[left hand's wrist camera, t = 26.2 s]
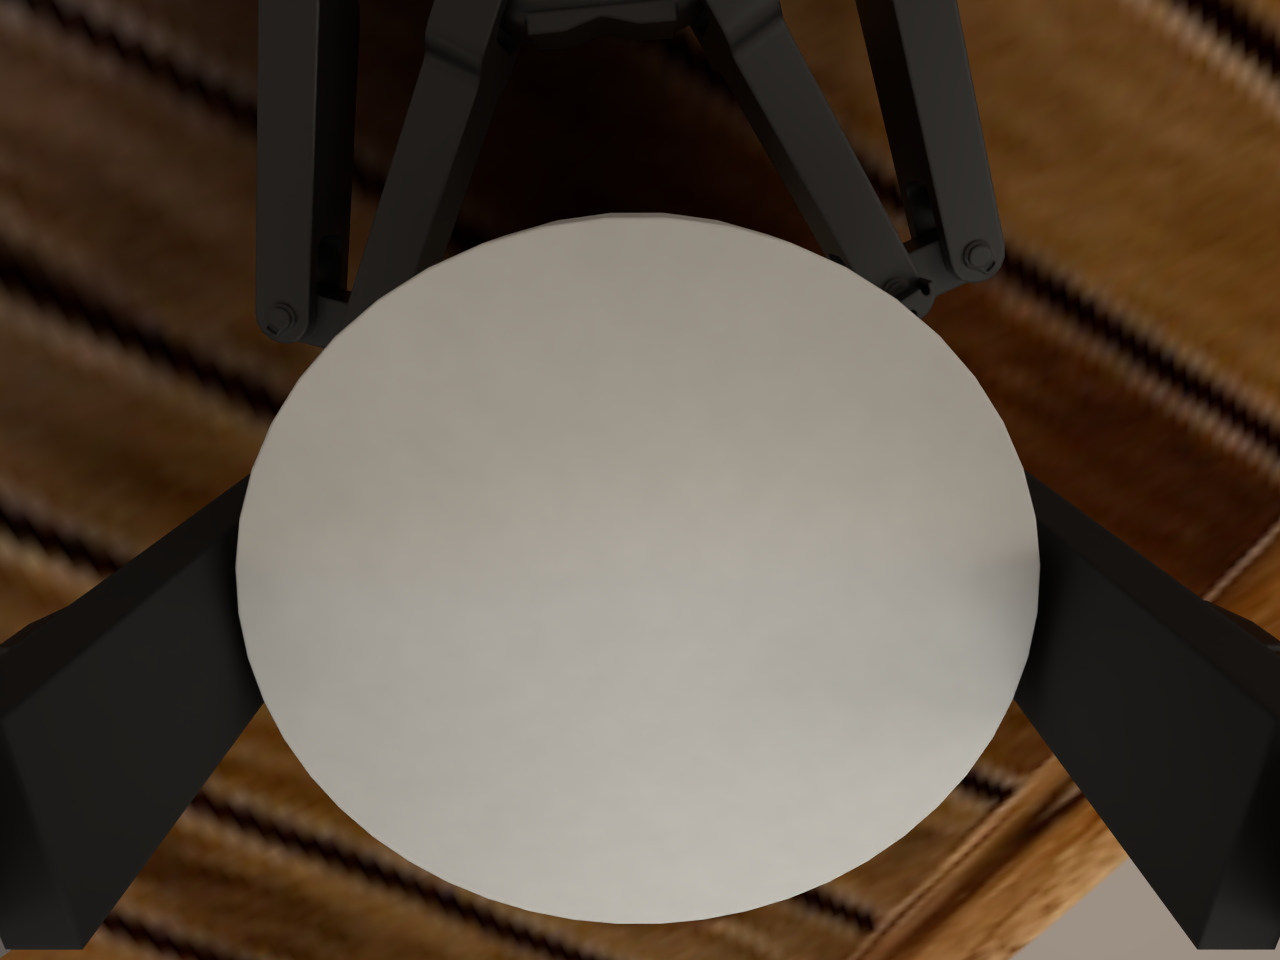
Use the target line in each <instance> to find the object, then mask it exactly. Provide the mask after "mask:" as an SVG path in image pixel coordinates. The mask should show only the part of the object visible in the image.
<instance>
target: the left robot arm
mask: <svg viewBox="0 0 1280 960" xmlns="http://www.w3.org/2000/svg"><path fill="white" fill-rule="evenodd" d="M1024 473H1025V477H1026V481H1027V485H1028V489H1029V493H1030V497H1031V501H1032V505H1033V509H1034V513H1035V517H1036V526H1037V537H1038V547H1039V558H1040V578H1039V595H1038V612H1037V617H1036V622H1035V627H1034V632H1033V636H1032V641H1031V646H1030V651H1029V655H1028V659H1027V662H1026V664H1025V667H1024V670H1023V673H1022V675H1021V678H1020V681H1019V684H1018V686H1017V689H1016V692H1015V695H1014V697H1013V699H1014V700H1015V701H1016V703H1017V704H1018V706H1019V707H1020V708H1021V710H1022V711H1023V712H1024V714H1025V715H1026V716H1027V718H1028V719H1029V721H1030V722H1031V723H1032V725H1033V726H1034V727H1035V729H1036V730H1037V731H1038V733H1039V734H1040V736H1041V737H1042V738H1043V740H1044V741H1045V742H1046V744H1047V745H1048V746H1049V748H1050V749H1051V751H1052V752H1053V753H1054V755H1055V756H1056V757H1057V759H1058V760H1059V761H1060V763H1061V764H1062V766H1063V767H1064V768H1065V770H1066V771H1067V772H1068V774H1069V775H1070V776H1071V778H1072V779H1073V780H1074V782H1075V783H1076V785H1077V786H1078V787H1079V789H1080V790H1081V791H1082V793H1083V794H1084V795H1085V797H1086V798H1087V800H1088V801H1089V802H1090V804H1091V805H1092V806H1093V808H1094V809H1095V810H1096V812H1097V813H1098V815H1099V816H1100V817H1101V819H1102V820H1103V821H1104V823H1105V824H1106V825H1107V827H1108V828H1109V830H1110V831H1111V832H1112V834H1113V835H1114V836H1115V838H1116V839H1117V840H1118V842H1119V843H1120V845H1121V846H1122V847H1123V849H1124V850H1125V851H1126V853H1127V854H1128V855H1129V857H1130V858H1131V860H1132V861H1133V862H1134V864H1135V865H1136V866H1137V868H1138V869H1139V870H1140V872H1141V873H1142V875H1143V876H1144V877H1145V879H1146V880H1147V881H1148V883H1149V884H1150V885H1151V887H1152V888H1153V889H1154V891H1155V892H1156V894H1157V895H1158V896H1159V898H1160V899H1161V900H1162V902H1163V903H1164V904H1165V906H1166V907H1167V909H1168V910H1169V911H1170V913H1171V914H1172V915H1173V917H1174V918H1175V920H1176V921H1177V922H1178V924H1179V925H1180V926H1181V928H1182V929H1183V930H1184V932H1185V933H1186V935H1187V936H1188V937H1189V939H1190V940H1191V941H1192V943H1193V944H1194V945H1195V947H1196V948H1197V949H1275V948H1276V945H1277V943H1278V940H1279V938H1280V641H1279V640H1278V639H1276V638H1275V637H1273V636H1272V635H1271V634H1269V633H1268V632H1266V631H1265V630H1263V629H1262V628H1261V627H1259V626H1258V625H1256V624H1255V623H1254V622H1252V621H1250V620H1248V619H1246V618H1243V617H1241V616H1239V615H1237V614H1235V613H1233V612H1230V611H1228V610H1226V609H1224V608H1222V607H1219V606H1217V605H1215V604H1213V603H1211V602H1209V601H1204V600H1202V599H1201V598H1200V597H1198V596H1197V595H1196V594H1194V593H1193V592H1192V591H1190V590H1189V589H1187V588H1186V587H1185V586H1183V585H1182V584H1181V583H1179V582H1178V581H1176V580H1175V579H1174V578H1172V577H1171V576H1170V575H1168V574H1167V573H1165V572H1164V571H1163V570H1161V569H1160V568H1159V567H1157V566H1156V565H1154V564H1153V563H1152V562H1150V561H1149V560H1148V559H1146V558H1145V557H1143V556H1142V555H1141V554H1139V553H1138V552H1137V551H1135V550H1134V549H1133V548H1131V547H1130V546H1128V545H1127V544H1126V543H1124V542H1123V541H1122V540H1120V539H1119V538H1117V537H1116V536H1115V535H1113V534H1112V533H1111V532H1109V531H1108V530H1106V529H1105V528H1104V527H1102V526H1101V525H1100V524H1098V523H1097V522H1095V521H1094V520H1093V519H1091V518H1090V517H1089V516H1087V515H1086V514H1084V513H1083V512H1082V511H1080V510H1079V509H1078V508H1076V507H1075V506H1074V505H1072V504H1071V503H1069V502H1068V501H1067V500H1065V499H1064V498H1063V497H1061V496H1060V495H1058V494H1057V493H1056V492H1054V491H1053V490H1052V489H1050V488H1049V487H1047V486H1046V485H1045V484H1043V483H1042V482H1041V481H1039V480H1038V479H1036V478H1035V477H1034V476H1032V475H1031V474H1030V473H1028V472H1027V471H1025V470H1024ZM250 475H251V473H250V474H249V475H248V476H246V477H245V478H244V479H242V480H241V481H239V482H238V483H237V484H235V485H234V486H233V487H231V488H230V489H228V490H227V491H226V492H224V493H223V494H222V495H220V496H219V497H217V498H216V499H215V500H213V501H212V502H211V503H209V504H208V505H207V506H205V507H204V508H202V509H201V510H200V511H198V512H197V513H196V514H194V515H193V516H191V517H190V518H189V519H187V520H186V521H185V522H183V523H182V524H180V525H179V526H178V527H176V528H175V529H174V530H172V531H171V532H169V533H168V534H167V535H165V536H164V537H163V538H161V539H160V540H158V541H157V542H156V543H154V544H153V545H152V546H150V547H149V548H148V549H146V550H145V551H143V552H142V553H141V554H139V555H138V556H137V557H135V558H134V559H132V560H131V561H130V562H128V563H127V564H126V565H124V566H123V567H121V568H120V569H119V570H117V571H116V572H115V573H113V574H112V575H110V576H109V577H108V578H106V579H105V580H104V581H102V582H101V583H99V584H98V585H97V586H95V587H94V588H93V589H91V590H90V591H89V592H87V593H86V594H84V595H83V596H82V597H80V598H79V599H78V600H76V601H75V602H73V603H72V604H71V605H69V606H68V607H65V608H63V609H61V610H59V611H57V612H55V613H52V614H50V615H48V616H46V617H44V618H42V619H39V620H37V621H35V622H33V623H31V624H29V625H27V626H26V627H24V628H23V629H22V630H20V631H19V632H17V633H16V634H15V635H13V636H12V637H10V638H9V639H8V640H6V641H5V642H3V643H2V644H1V645H0V958H1V957H2V956H3V955H5V954H6V953H7V952H9V951H10V950H11V949H83V948H84V947H85V945H86V944H87V943H88V941H89V940H90V939H91V937H92V936H93V935H94V933H95V932H96V930H97V929H98V928H99V926H100V925H101V924H102V922H103V921H104V920H105V918H106V917H107V915H108V914H109V913H110V911H111V910H112V909H113V907H114V906H115V905H116V903H117V902H118V900H119V899H120V898H121V896H122V895H123V894H124V892H125V891H126V890H127V888H128V887H129V885H130V884H131V883H132V881H133V880H134V879H135V877H136V876H137V875H138V873H139V872H140V870H141V869H142V868H143V866H144V865H145V864H146V862H147V861H148V860H149V858H150V857H151V855H152V854H153V853H154V851H155V850H156V849H157V847H158V846H159V845H160V843H161V842H162V840H163V839H164V838H165V836H166V835H167V834H168V832H169V831H170V830H171V828H172V827H173V826H174V824H175V823H176V821H177V820H178V819H179V817H180V816H181V815H182V813H183V812H184V811H185V809H186V808H187V806H188V805H189V804H190V802H191V801H192V800H193V798H194V797H195V796H196V794H197V793H198V791H199V790H200V789H201V787H202V786H203V785H204V783H205V782H206V781H207V779H208V778H209V776H210V775H211V774H212V772H213V771H214V770H215V768H216V767H217V766H218V764H219V763H220V761H221V760H222V759H223V757H224V756H225V755H226V753H227V752H228V751H229V749H230V748H231V746H232V745H233V744H234V742H235V741H236V740H237V738H238V737H239V736H240V734H241V733H242V731H243V730H244V729H245V727H246V726H247V725H248V723H249V722H250V721H251V719H252V718H253V716H254V715H255V714H256V712H257V711H258V710H259V708H260V707H261V706H262V704H263V703H264V700H263V698H262V695H261V692H260V689H259V687H258V684H257V681H256V679H255V676H254V673H253V670H252V668H251V665H250V662H249V660H248V656H247V651H246V647H245V642H244V637H243V633H242V628H241V623H240V619H239V614H238V600H237V585H236V569H235V565H236V554H237V543H238V531H239V520H240V515H241V511H242V507H243V503H244V499H245V495H246V491H247V487H248V483H249V479H250Z"/></svg>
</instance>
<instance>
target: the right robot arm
mask: <svg viewBox="0 0 1280 960" xmlns="http://www.w3.org/2000/svg"><path fill="white" fill-rule="evenodd" d="M855 1H856V6H857V10H858V14H859V18H860V22H861V27H862V31H863V35H864V39H865V44H866V48H867V52H868V56H869V61H870V65H871V69H872V73H873V77H874V82H875V86H876V90H877V94H878V99H879V103H880V107H881V111H882V116H883V120H884V124H885V128H886V132H887V137H888V141H889V145H890V149H891V154H892V158H893V162H894V166H895V171H896V175H897V179H898V183H899V187H900V192H901V196H902V200H903V204H904V209H905V213H906V217H907V221H908V226H909V230H910V234H911V238H912V239H911V240H909V241H907V242H905V243H902V241H901V239H900V237H899V236H898V234H897V232H896V230H895V228H894V226H893V224H892V222H891V221H890V219H889V217H888V215H887V213H886V211H885V209H884V207H883V206H882V204H881V202H880V200H879V198H878V196H877V194H876V192H875V191H874V189H873V187H872V185H871V183H870V181H869V179H868V178H867V176H866V174H865V172H864V170H863V168H862V166H861V164H860V163H859V161H858V159H857V157H856V155H855V153H854V151H853V149H852V148H851V146H850V144H849V142H848V140H847V138H846V136H845V134H844V133H843V131H842V129H841V127H840V125H839V123H838V121H837V120H836V118H835V116H834V114H833V112H832V110H831V108H830V106H829V105H828V103H827V101H826V99H825V97H824V95H823V93H822V91H821V90H820V88H819V86H818V84H817V82H816V80H815V78H814V76H813V75H812V73H811V71H810V69H809V67H808V65H807V63H806V61H805V60H804V58H803V56H802V54H801V52H800V50H799V48H798V47H797V45H796V43H795V41H794V39H793V37H792V35H791V33H790V32H789V30H788V28H787V26H786V24H785V22H784V19H783V16H782V11H781V6H780V3H779V0H434V3H433V6H432V9H431V13H430V16H429V19H428V23H427V27H426V31H425V39H424V41H425V55H424V60H423V64H422V67H421V70H420V74H419V77H418V80H417V83H416V86H415V90H414V93H413V96H412V99H411V102H410V106H409V109H408V112H407V115H406V119H405V122H404V125H403V128H402V131H401V135H400V138H399V141H398V144H397V147H396V151H395V154H394V157H393V160H392V164H391V167H390V170H389V173H388V176H387V180H386V183H385V186H384V189H383V192H382V196H381V199H380V202H379V205H378V209H377V212H376V215H375V218H374V221H373V225H372V228H371V231H370V234H369V237H368V241H367V244H366V247H365V250H364V253H363V257H362V260H361V263H360V266H359V270H358V273H357V276H356V279H355V282H354V286H353V289H352V292H351V291H347V272H348V252H349V232H350V212H351V192H352V172H353V152H354V132H355V112H356V92H357V72H358V52H359V2H358V0H258V104H257V216H256V318H257V323H258V325H259V326H260V328H261V330H262V331H263V333H264V334H266V335H267V336H268V337H269V338H270V339H272V340H274V341H277V342H280V343H293V342H295V341H299V342H303V343H306V344H310V345H314V346H318V347H322V348H326V346H327V345H328V344H329V343H330V342H331V341H332V339H333V338H334V337H335V336H336V335H337V334H339V333H340V332H341V331H342V330H343V329H344V328H345V327H347V326H348V325H349V324H350V323H351V322H352V321H354V320H355V319H356V318H357V317H358V316H359V315H360V314H362V313H363V312H364V311H365V310H366V309H367V308H369V307H370V306H371V305H372V304H373V303H374V302H376V301H377V300H378V299H379V298H381V297H383V296H384V295H386V294H387V293H389V292H390V291H392V290H394V289H395V288H397V287H398V286H400V285H401V284H403V283H405V282H406V281H408V280H409V279H411V278H413V277H414V276H416V275H417V274H419V273H420V272H422V271H424V270H425V269H427V268H429V267H431V266H433V265H435V264H437V263H440V262H442V260H443V257H444V255H445V252H446V249H447V246H448V243H449V240H450V237H451V234H452V232H453V229H454V226H455V223H456V220H457V217H458V214H459V211H460V209H461V206H462V203H463V200H464V197H465V194H466V191H467V188H468V185H469V183H470V180H471V177H472V174H473V171H474V168H475V165H476V162H477V160H478V157H479V154H480V151H481V148H482V145H483V142H484V139H485V137H486V134H487V131H488V128H489V125H490V122H491V119H492V116H493V114H494V111H495V108H496V105H497V102H498V99H499V97H500V95H501V93H502V92H503V90H504V89H505V87H506V86H507V84H508V82H509V79H510V77H511V74H512V71H513V69H514V66H515V63H516V60H517V57H518V54H519V51H520V49H521V46H522V43H523V42H524V43H527V44H530V45H535V46H536V47H537V48H538V50H539V51H548V50H558V49H568V48H574V47H576V46H579V45H581V44H583V43H586V42H588V41H591V40H593V39H595V38H598V37H600V36H603V35H611V36H616V37H621V38H626V39H631V40H636V41H650V40H660V39H670V38H673V37H674V33H675V32H676V31H679V30H681V29H683V28H685V27H686V26H688V25H690V27H691V28H692V30H693V32H694V33H695V35H696V37H697V39H698V40H699V42H700V44H701V46H702V47H703V49H704V51H705V53H706V54H707V56H708V58H709V59H710V61H711V62H712V64H713V65H714V67H715V68H716V69H717V70H718V71H719V72H720V73H721V75H722V76H723V78H724V79H725V81H726V83H727V85H728V86H729V88H730V90H731V92H732V93H733V95H734V97H735V99H736V100H737V102H738V104H739V106H740V107H741V109H742V111H743V113H744V114H745V116H746V118H747V120H748V121H749V123H750V125H751V127H752V128H753V130H754V132H755V134H756V135H757V137H758V139H759V141H760V142H761V144H762V146H763V148H764V149H765V151H766V153H767V155H768V156H769V158H770V160H771V162H772V163H773V165H774V167H775V169H776V170H777V172H778V174H779V176H780V177H781V179H782V181H783V183H784V184H785V186H786V188H787V190H788V191H789V193H790V195H791V197H792V198H793V200H794V202H795V204H796V205H797V207H798V209H799V210H800V212H801V214H802V216H803V217H804V219H805V221H806V223H807V224H808V226H809V228H810V230H811V231H812V233H813V235H814V237H815V238H816V240H817V242H818V244H819V245H820V247H821V249H822V251H823V252H824V254H825V256H826V258H827V259H829V260H831V261H833V262H835V263H838V264H840V265H842V266H844V267H847V268H848V269H850V270H851V271H853V272H854V273H856V274H858V275H859V276H861V277H862V278H864V279H866V280H867V281H869V282H870V283H872V284H874V285H875V286H877V287H878V288H880V289H882V290H883V291H885V292H886V293H888V294H889V295H891V296H893V297H894V298H896V299H897V300H898V301H899V302H901V303H902V304H903V305H904V306H905V307H906V308H908V309H909V310H910V311H911V312H912V313H913V314H915V315H916V316H917V317H918V318H919V319H920V320H921V319H922V318H923V317H924V316H925V315H926V314H927V313H928V312H929V311H930V309H931V307H932V305H933V303H934V299H935V297H936V296H938V295H940V294H942V293H945V292H947V291H949V290H951V289H954V288H956V287H958V286H960V285H963V284H965V283H967V282H970V283H978V282H984V281H985V280H987V279H989V278H990V277H992V276H993V275H994V274H995V273H996V272H997V271H998V270H999V268H1000V267H1001V265H1002V262H1003V260H1004V257H1005V245H1004V240H1003V235H1002V230H1001V225H1000V220H999V215H998V209H997V204H996V199H995V194H994V189H993V184H992V179H991V174H990V169H989V163H988V158H987V153H986V148H985V143H984V138H983V133H982V128H981V123H980V117H979V112H978V107H977V102H976V97H975V92H974V87H973V82H972V77H971V71H970V66H969V61H968V56H967V51H966V46H965V41H964V36H963V31H962V26H961V20H960V15H959V10H958V5H957V0H855Z"/></svg>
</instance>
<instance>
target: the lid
mask: <svg viewBox="0 0 1280 960" xmlns="http://www.w3.org/2000/svg"><path fill="white" fill-rule="evenodd" d="M235 569H236V585H237V600H238V614H239V619H240V623H241V628H242V633H243V637H244V642H245V647H246V651H247V656H248V660H249V662H250V665H251V668H252V670H253V673H254V676H255V679H256V681H257V684H258V687H259V689H260V692H261V695H262V698H263V700H264V702H265V704H266V706H267V708H268V710H269V711H270V713H271V715H272V717H273V719H274V721H275V723H276V725H277V727H278V728H279V730H280V732H281V734H282V736H283V738H284V740H285V741H286V742H287V744H288V745H289V747H290V748H291V749H292V751H293V752H294V754H295V755H296V756H297V758H298V759H299V761H300V762H301V763H302V765H303V766H304V768H305V769H306V771H307V772H308V773H309V775H310V776H311V777H312V778H313V779H314V780H315V781H316V783H317V784H318V785H319V786H320V787H321V788H322V789H323V790H324V791H325V792H326V793H327V795H328V796H329V797H330V798H331V799H332V800H333V801H334V802H335V803H336V804H337V805H338V807H339V808H340V809H342V810H343V811H344V812H345V813H346V814H347V815H349V816H350V817H351V818H352V819H353V820H354V821H356V822H357V823H358V824H359V825H360V826H361V827H362V828H364V829H365V830H366V831H367V832H368V833H369V834H371V835H372V836H373V837H374V838H376V839H377V840H379V841H380V842H382V843H383V844H385V845H386V846H388V847H389V848H390V849H392V850H393V851H395V852H396V853H398V854H399V855H401V856H402V857H404V858H405V859H407V860H408V861H410V862H411V863H413V864H415V865H417V866H419V867H421V868H423V869H424V870H426V871H428V872H430V873H432V874H434V875H436V876H437V877H439V878H441V879H443V880H445V881H447V882H449V883H451V884H454V885H456V886H459V887H461V888H464V889H466V890H468V891H471V892H473V893H476V894H478V895H481V896H483V897H486V898H488V899H491V900H495V901H498V902H501V903H505V904H508V905H511V906H515V907H518V908H521V909H525V910H528V911H532V912H537V913H543V914H548V915H553V916H558V917H563V918H569V919H574V920H585V921H595V922H606V923H616V924H657V923H671V922H681V921H691V920H702V919H708V918H713V917H718V916H723V915H728V914H734V913H739V912H744V911H748V910H752V909H755V908H758V907H762V906H765V905H768V904H772V903H775V902H778V901H782V900H785V899H788V898H791V897H793V896H796V895H798V894H801V893H803V892H805V891H808V890H810V889H813V888H815V887H818V886H820V885H822V884H825V883H827V882H830V881H831V880H833V879H835V878H837V877H839V876H841V875H843V874H844V873H846V872H848V871H850V870H852V869H854V868H855V867H857V866H859V865H861V864H863V863H865V862H867V861H868V860H870V859H871V858H873V857H874V856H876V855H877V854H878V853H880V852H881V851H883V850H884V849H886V848H887V847H889V846H890V845H892V844H893V843H894V842H896V841H897V840H899V839H900V838H902V837H903V836H904V835H906V834H907V833H908V832H909V831H910V830H911V829H913V828H914V827H915V826H916V825H917V824H918V823H919V822H921V821H922V820H923V819H924V818H925V817H926V816H928V815H929V814H930V813H931V812H932V811H933V810H934V809H936V808H937V807H938V806H939V805H940V803H941V802H942V801H943V800H944V799H945V798H946V797H947V796H948V795H949V794H950V792H951V791H952V790H953V789H954V788H955V787H956V786H957V785H958V784H959V783H960V781H961V780H962V779H963V778H964V777H965V776H966V775H967V773H968V772H969V771H970V769H971V768H972V766H973V765H974V764H975V762H976V761H977V759H978V758H979V756H980V755H981V754H982V752H983V751H984V749H985V748H986V747H987V745H988V744H989V742H990V741H991V739H992V738H993V736H994V734H995V732H996V730H997V728H998V726H999V725H1000V723H1001V721H1002V719H1003V717H1004V715H1005V713H1006V711H1007V709H1008V707H1009V706H1010V704H1011V702H1012V700H1013V697H1014V695H1015V692H1016V689H1017V686H1018V684H1019V681H1020V678H1021V675H1022V673H1023V670H1024V667H1025V664H1026V662H1027V659H1028V655H1029V651H1030V646H1031V641H1032V636H1033V632H1034V627H1035V622H1036V617H1037V612H1038V595H1039V578H1040V558H1039V547H1038V537H1037V526H1036V517H1035V513H1034V509H1033V505H1032V501H1031V497H1030V493H1029V489H1028V485H1027V481H1026V477H1025V473H1024V469H1023V467H1022V465H1021V462H1020V460H1019V458H1018V455H1017V453H1016V451H1015V448H1014V446H1013V443H1012V441H1011V439H1010V436H1009V434H1008V432H1007V429H1006V427H1005V425H1004V422H1003V421H1002V419H1001V418H1000V416H999V414H998V413H997V411H996V410H995V408H994V406H993V405H992V403H991V402H990V400H989V398H988V397H987V395H986V394H985V392H984V390H983V389H982V387H981V386H980V384H979V382H978V381H977V379H976V378H975V376H974V375H973V374H972V373H971V372H970V371H969V369H968V368H967V367H966V366H965V365H964V364H963V363H962V361H961V360H960V359H959V358H958V357H957V356H956V354H955V353H954V352H953V351H952V350H951V349H950V347H949V346H948V345H947V344H946V343H945V342H944V341H943V339H942V338H941V337H940V336H939V335H938V334H937V333H936V332H934V331H933V330H932V329H931V328H930V327H929V326H927V325H926V324H925V323H924V322H923V321H922V320H920V319H919V318H918V317H917V316H916V315H915V314H913V313H912V312H911V311H910V310H909V309H908V308H906V307H905V306H904V305H903V304H902V303H901V302H899V301H898V300H897V299H896V298H894V297H893V296H891V295H889V294H888V293H886V292H885V291H883V290H882V289H880V288H878V287H877V286H875V285H874V284H872V283H870V282H869V281H867V280H866V279H864V278H862V277H861V276H859V275H858V274H856V273H854V272H853V271H851V270H850V269H848V268H847V267H844V266H842V265H840V264H838V263H835V262H833V261H831V260H829V259H826V258H824V257H822V256H820V255H817V254H815V253H813V252H811V251H808V250H806V249H804V248H802V247H799V246H797V245H795V244H793V243H790V242H787V241H785V240H782V239H779V238H776V237H773V236H770V235H767V234H764V233H760V232H757V231H753V230H750V229H746V228H743V227H739V226H736V225H732V224H729V223H725V222H722V221H718V220H712V219H705V218H697V217H690V216H683V215H676V214H668V213H607V214H600V215H592V216H585V217H578V218H571V219H564V220H557V221H554V222H550V223H547V224H543V225H540V226H536V227H533V228H529V229H526V230H522V231H519V232H515V233H512V234H508V235H505V236H502V237H499V238H496V239H494V240H491V241H488V242H485V243H482V244H480V245H478V246H475V247H473V248H471V249H469V250H466V251H464V252H462V253H460V254H458V255H455V256H453V257H451V258H449V259H446V260H444V261H442V262H440V263H437V264H435V265H433V266H431V267H429V268H427V269H425V270H424V271H422V272H420V273H419V274H417V275H416V276H414V277H413V278H411V279H409V280H408V281H406V282H405V283H403V284H401V285H400V286H398V287H397V288H395V289H394V290H392V291H390V292H389V293H387V294H386V295H384V296H383V297H381V298H379V299H378V300H377V301H376V302H374V303H373V304H372V305H371V306H370V307H369V308H367V309H366V310H365V311H364V312H363V313H362V314H360V315H359V316H358V317H357V318H356V319H355V320H354V321H352V322H351V323H350V324H349V325H348V326H347V327H345V328H344V329H343V330H342V331H341V332H340V333H339V334H337V335H336V336H335V337H334V338H333V339H332V341H331V342H330V343H329V344H328V345H327V346H326V348H325V349H324V350H323V351H322V352H321V353H320V355H319V356H318V357H317V358H316V359H315V360H314V362H313V363H312V364H311V365H310V366H309V367H308V369H307V370H306V371H305V372H304V373H303V374H302V376H301V377H300V378H299V379H298V381H297V383H296V384H295V386H294V388H293V389H292V391H291V392H290V394H289V396H288V397H287V399H286V400H285V402H284V404H283V405H282V407H281V409H280V410H279V412H278V413H277V415H276V417H275V418H274V420H273V421H272V423H271V425H270V428H269V430H268V432H267V435H266V437H265V440H264V442H263V444H262V447H261V449H260V451H259V454H258V456H257V459H256V461H255V463H254V466H253V468H252V471H251V475H250V479H249V483H248V487H247V491H246V495H245V499H244V503H243V507H242V511H241V515H240V520H239V531H238V543H237V554H236V565H235Z"/></svg>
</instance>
